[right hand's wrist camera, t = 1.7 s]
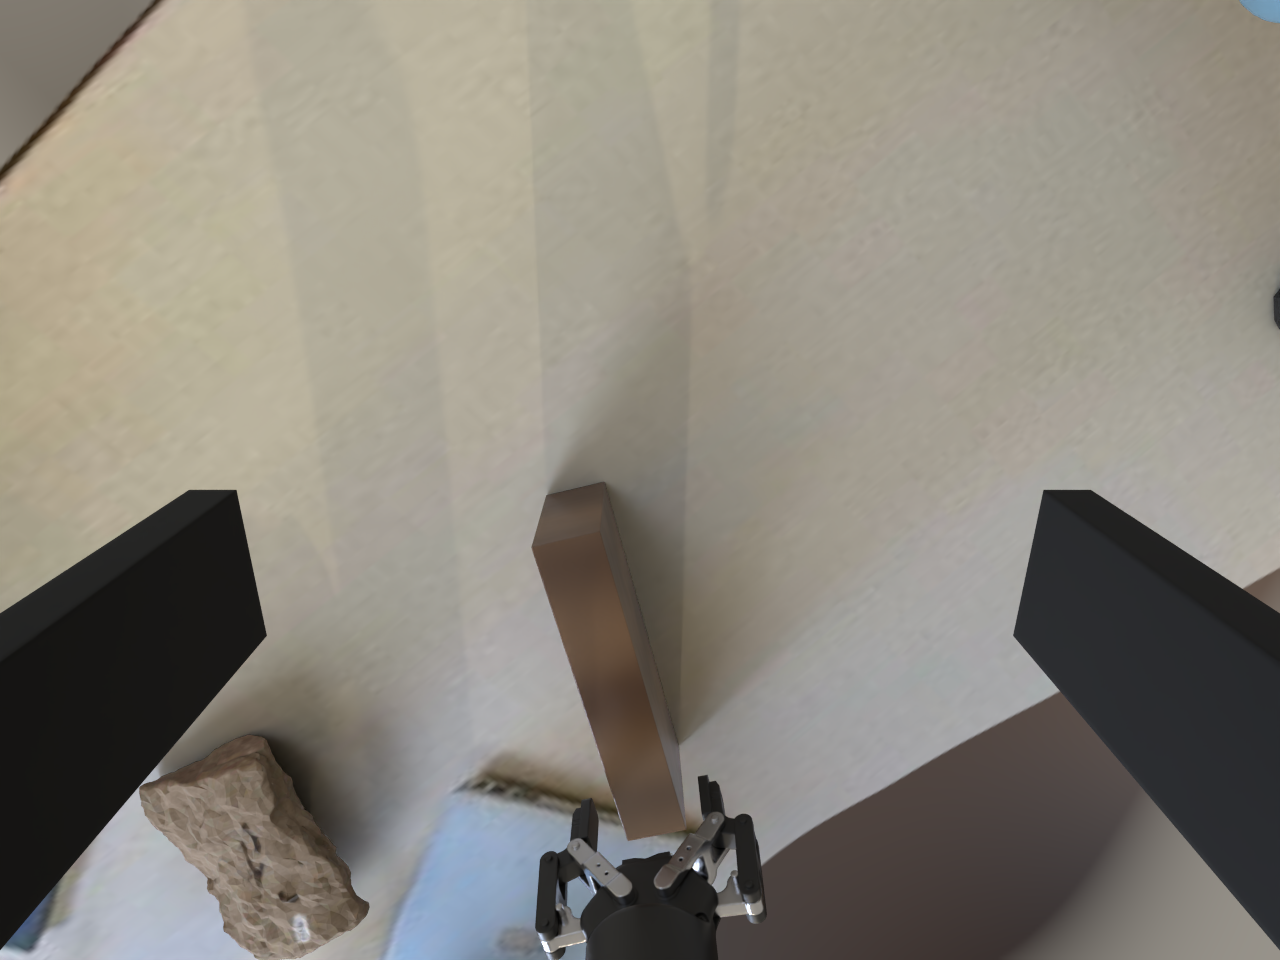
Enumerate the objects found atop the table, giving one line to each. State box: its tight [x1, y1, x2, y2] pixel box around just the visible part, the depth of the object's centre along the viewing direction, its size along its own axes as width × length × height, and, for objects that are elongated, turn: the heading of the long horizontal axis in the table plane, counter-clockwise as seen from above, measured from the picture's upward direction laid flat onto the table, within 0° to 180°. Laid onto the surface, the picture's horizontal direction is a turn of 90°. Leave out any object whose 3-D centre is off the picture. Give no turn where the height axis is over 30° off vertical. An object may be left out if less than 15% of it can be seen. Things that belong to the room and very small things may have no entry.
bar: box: [532, 482, 686, 841], centre depth 55 cm, size 25×4×9 cm, turn 14°
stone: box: [139, 735, 369, 960], centre depth 63 cm, size 21×15×6 cm
